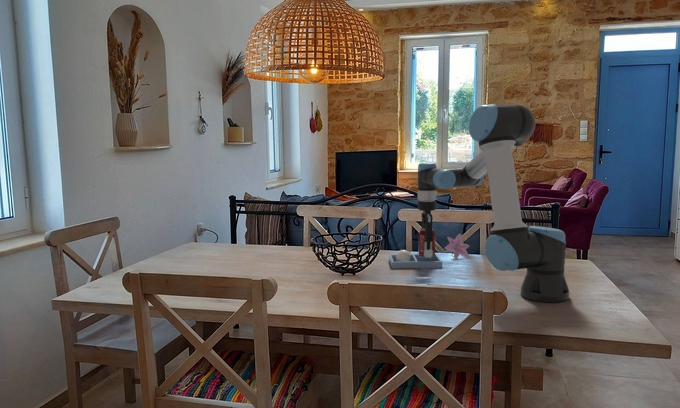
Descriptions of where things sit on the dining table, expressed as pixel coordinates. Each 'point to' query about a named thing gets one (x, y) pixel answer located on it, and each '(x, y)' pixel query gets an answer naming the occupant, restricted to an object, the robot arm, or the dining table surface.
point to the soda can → (422, 243)
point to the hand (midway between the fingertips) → (426, 254)
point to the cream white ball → (403, 256)
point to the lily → (457, 247)
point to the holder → (416, 262)
